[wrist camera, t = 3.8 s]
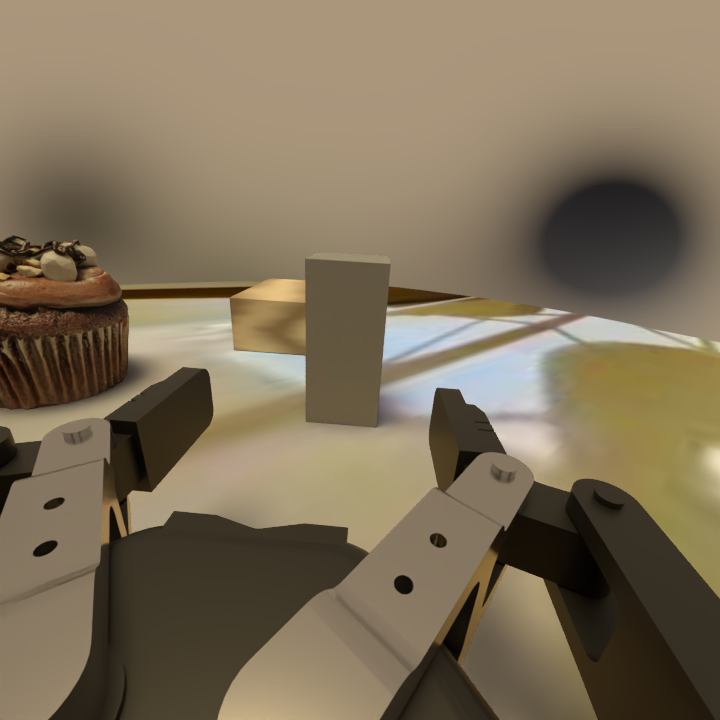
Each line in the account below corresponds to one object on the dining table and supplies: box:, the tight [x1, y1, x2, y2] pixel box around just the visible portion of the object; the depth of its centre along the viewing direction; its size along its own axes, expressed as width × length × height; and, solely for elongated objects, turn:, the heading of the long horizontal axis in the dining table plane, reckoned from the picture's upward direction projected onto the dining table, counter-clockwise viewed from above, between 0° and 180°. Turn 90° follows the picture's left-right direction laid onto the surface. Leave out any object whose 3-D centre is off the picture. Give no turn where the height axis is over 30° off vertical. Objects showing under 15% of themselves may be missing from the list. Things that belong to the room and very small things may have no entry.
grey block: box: [305, 252, 390, 427], centre depth 22 cm, size 4×4×10 cm
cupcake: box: [0, 235, 129, 409], centre depth 23 cm, size 10×10×10 cm
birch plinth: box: [230, 278, 306, 355], centre depth 37 cm, size 12×12×5 cm
